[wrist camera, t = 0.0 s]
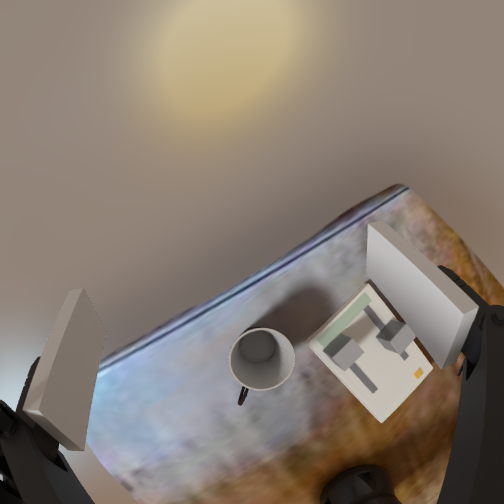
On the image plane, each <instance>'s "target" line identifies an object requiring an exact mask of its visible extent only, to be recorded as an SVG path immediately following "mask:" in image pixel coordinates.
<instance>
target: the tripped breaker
mask: <svg viewBox="0 0 504 504" xmlns="http://www.w3.org/2000/svg"><path fill="white" fill-rule="evenodd" d="M415 337H416V335H415V334H414V332H413V331H412V330H411V328H410V327H409V326H408V325H407V323H406V322H400V321H395V320H391V321H390V322H389V323H388V324H387V325H386V326H385V327H384V328H383V329H382V331H381V332H380V333H379V334H378V335H377V336H376V338H377V339H378V341H379V342H380V343H381V344H382V345H383V347H384V348H385V349H387V350H390V351H392V352H395V353H398V354H400V355H401V353H402V352H403V351H404V350H405V349H406V348H407V347H408V346H409V344H410V343H411V342H412V341H413V340H414V339H415Z"/></svg>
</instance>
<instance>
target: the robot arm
mask: <svg viewBox="0 0 504 504" xmlns="http://www.w3.org/2000/svg"><path fill="white" fill-rule="evenodd" d="M366 274H367V275H368V276H369V278H370V279H371V280H372V281H373V282H374V284H375V285H376V286H377V287H378V288H379V290H380V291H381V292H382V293H383V295H384V296H385V297H386V298H387V299H388V301H389V302H390V303H391V304H392V306H393V307H394V308H395V309H396V311H397V312H398V313H399V314H400V316H401V317H402V318H403V319H404V321H405V322H406V323H407V325H408V326H409V327H410V328H411V330H412V331H413V332H414V334H415V335H416V336H417V338H418V339H419V340H420V342H421V343H422V344H423V346H424V347H425V348H426V350H427V351H428V352H429V354H430V355H431V356H432V358H433V359H434V360H435V362H436V363H437V365H438V366H439V367H440V369H441V370H442V369H444V368H446V367H448V366H449V365H451V364H453V363H455V362H456V361H457V359H458V357H459V355H460V352H462V353H463V354H464V355H465V359H464V361H463V363H462V365H461V367H460V369H459V371H458V374H457V376H460V374H461V372H462V370H463V373H462V384H461V393H460V402H459V409H458V416H457V422H456V428H455V434H454V439H453V444H452V449H451V453H450V458H449V462H448V466H447V470H446V474H445V478H444V481H443V485H442V488H441V492H440V495H439V498H438V501H437V504H504V306H501V305H491V306H490V305H488V304H487V303H486V302H485V301H484V300H483V299H482V298H481V297H480V296H479V295H478V294H477V293H476V292H475V291H474V290H473V289H472V288H471V287H470V286H469V285H467V284H466V283H465V282H464V281H463V280H462V279H460V277H459V276H458V275H457V274H455V273H454V272H453V271H452V270H450V269H448V268H446V267H444V266H442V265H440V266H436V265H434V264H433V263H432V262H431V261H430V260H429V259H428V258H427V257H425V256H424V255H423V254H422V253H421V252H420V251H419V250H417V249H416V248H415V247H414V246H413V245H411V244H410V243H409V242H408V241H407V240H406V239H404V238H403V237H402V236H401V235H400V234H398V233H397V232H396V231H395V230H393V229H392V228H391V227H390V226H388V225H387V224H386V223H385V222H383V221H377V222H372V223H368V244H367V265H366ZM106 335H107V330H106V328H105V327H104V325H103V323H102V321H101V320H100V318H99V316H98V314H97V312H96V310H95V309H94V307H93V305H92V303H91V301H90V299H89V297H88V295H87V293H86V291H85V289H84V288H83V287H82V288H77V289H73V290H70V291H69V293H68V296H67V298H66V300H65V302H64V304H63V306H62V308H61V310H60V313H59V315H58V317H57V319H56V321H55V324H54V326H53V328H52V331H51V333H50V335H49V338H48V340H47V343H46V345H45V347H44V350H43V352H42V355H41V356H40V357H38V358H37V359H36V360H35V362H34V363H33V364H32V366H31V368H30V371H29V373H28V378H27V379H26V382H25V386H24V387H23V390H22V393H21V396H20V399H19V402H18V405H17V408H16V411H15V412H14V411H13V410H12V409H11V408H10V407H9V406H8V405H7V404H6V403H5V402H4V401H2V400H0V474H1V475H3V481H2V480H0V504H95V503H94V502H93V500H92V499H91V498H90V496H89V495H88V493H87V492H86V490H85V489H84V487H83V486H82V485H81V483H80V482H79V480H78V478H77V477H76V476H75V474H74V472H73V470H72V469H71V467H70V466H69V464H68V462H67V461H66V459H65V457H64V455H63V454H62V453H61V452H60V451H59V450H58V448H59V443H60V444H61V445H63V446H64V447H65V448H66V449H67V450H72V451H84V448H85V441H86V434H87V428H88V421H89V415H90V409H91V404H92V398H93V393H94V388H95V383H96V378H97V373H98V369H99V364H100V360H101V355H102V351H103V347H104V343H105V339H106ZM320 504H402V503H401V502H400V501H399V500H398V499H397V497H396V496H395V492H394V487H393V482H392V479H391V477H390V475H389V474H388V473H387V472H386V471H385V470H384V469H383V468H382V467H380V466H377V465H361V466H357V467H354V468H351V469H349V470H347V471H345V472H343V473H341V474H339V475H338V476H337V477H335V478H334V479H333V480H332V481H331V482H330V483H329V484H328V485H327V486H326V487H325V489H324V490H323V492H322V494H321V498H320Z"/></svg>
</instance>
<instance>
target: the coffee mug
mask: <svg viewBox="0 0 504 504" xmlns="http://www.w3.org/2000/svg"><path fill="white" fill-rule="evenodd" d="M228 363H229V368H230V371H231V374H232V375H233V377H234V378H235V379H236V381H237V382H238V383H240V384H241V385H242V386H243V387H242V390H241V393H240V396H239V400H238V405H242V404H243V402H244V400H245V398H246V396H247V393H248V390H249V389H251V390H255V391H266V390H271V389H274V388H276V387H278V386H280V385H281V384H282V383H284V382H285V381H286V380H287V379H288V377H289V376H290V374H291V373H292V371H293V368H294V364H295V353H294V350H293V347H292V345H291V343H290V341H289V340H288V339H287V338H286V337H285V336H284V335H283V334H281V333H280V332H278V331H276V330H273V329H269V328H264V327H252V328H249V329H247V330H245V331H244V332H243V333H242V334H241V335H240V336H239V337H238V338H237V339H236V341H235V342H234V343H233V345H232V347H231V349H230V352H229V358H228ZM245 387H246V390H245V392H244V389H245ZM243 392H244V394H243Z"/></svg>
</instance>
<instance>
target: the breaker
mask: <svg viewBox="0 0 504 504" xmlns="http://www.w3.org/2000/svg"><path fill="white" fill-rule="evenodd" d="M323 352H324V353H325V354H326V355H327V356H328V358H329V359H330V360H331V361H332V362H333V363H334V364H335V365H337V366H338V367H339V368H341V369H342V370H343V371H346V370H347V369H348V368H349V367H350V366H351V365H352V364H353V363H354V362H355V361H356V360H357V359H358V358H359V357H360V356H361V355H362V354H363V353H364V351H363V350H362V349H361V347H360V346H359V345H358V344H357V343H356V342H355V340H354V339H353V338H351V337H348V336H346V335H343V334H341V333H340V334H339V335H338V336H337V337H336V338H335V339H334V340H333V341H332V342H331V343H330V344H329V345H328V346H327V347H326V348H325V349H324V350H323Z"/></svg>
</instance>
